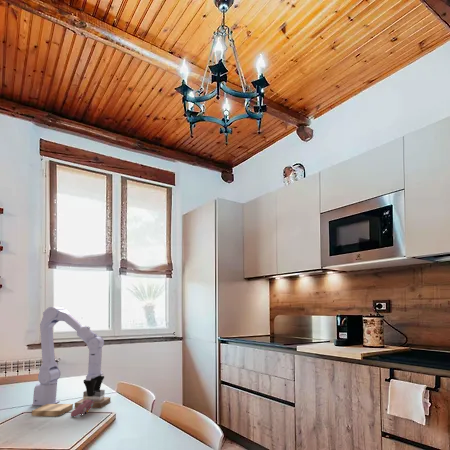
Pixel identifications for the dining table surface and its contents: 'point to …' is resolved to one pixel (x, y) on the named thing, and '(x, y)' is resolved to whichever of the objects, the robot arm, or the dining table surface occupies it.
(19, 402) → the dining table surface
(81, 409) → the video game controller
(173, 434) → the dining table surface
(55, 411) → the oak stand
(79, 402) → the walnut stand
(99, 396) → the grey rectangular block
